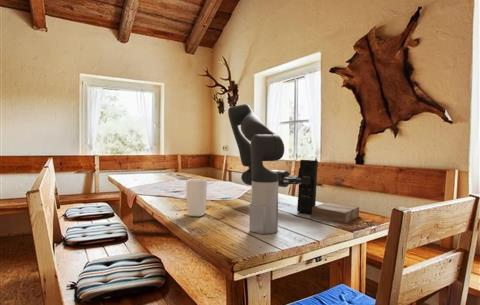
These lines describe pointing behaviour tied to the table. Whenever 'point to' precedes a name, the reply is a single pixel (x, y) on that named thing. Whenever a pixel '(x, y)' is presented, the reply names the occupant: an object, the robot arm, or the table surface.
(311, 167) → the portable radio
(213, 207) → the table surface
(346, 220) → the walnut stand
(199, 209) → the cup
